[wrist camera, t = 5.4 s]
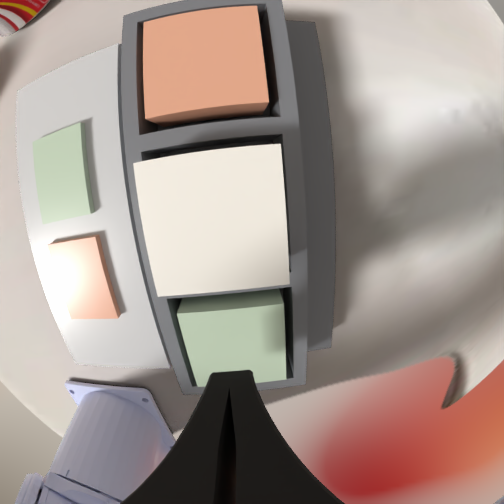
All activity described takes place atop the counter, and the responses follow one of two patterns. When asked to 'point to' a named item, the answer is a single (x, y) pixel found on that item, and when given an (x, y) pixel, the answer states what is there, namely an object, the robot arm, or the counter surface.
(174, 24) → the key terracotta
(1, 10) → the soda can
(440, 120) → the counter surface
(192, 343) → the key sage
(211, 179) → the key ivory
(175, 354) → the keypad
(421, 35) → the counter surface
